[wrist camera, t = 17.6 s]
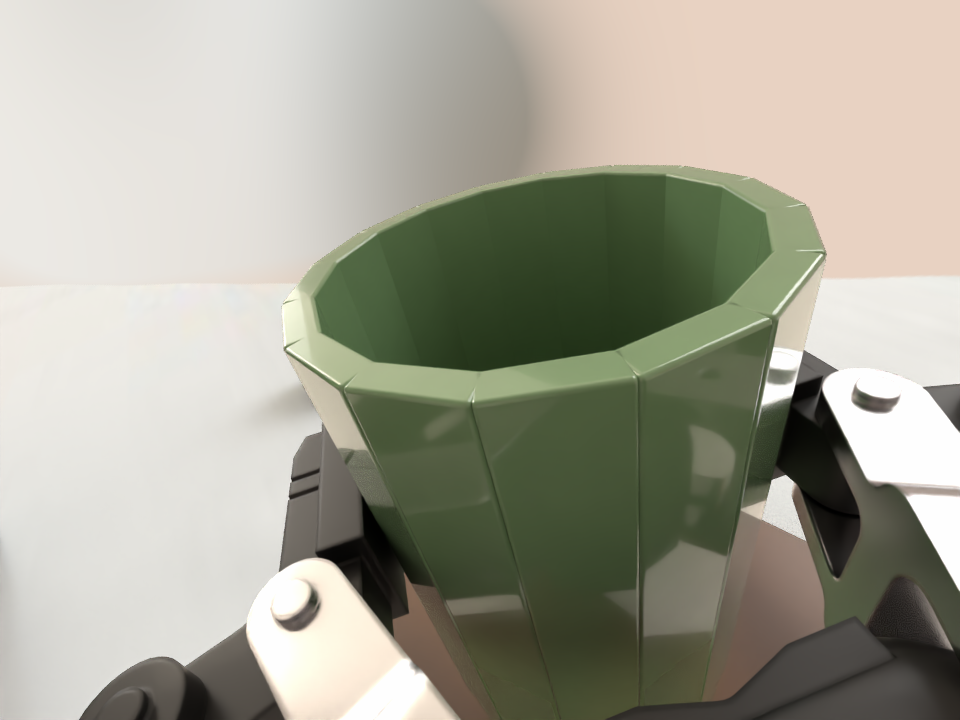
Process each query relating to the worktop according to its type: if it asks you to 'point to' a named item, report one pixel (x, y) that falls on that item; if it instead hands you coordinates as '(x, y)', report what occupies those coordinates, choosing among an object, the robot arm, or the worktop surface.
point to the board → (756, 640)
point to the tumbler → (568, 417)
